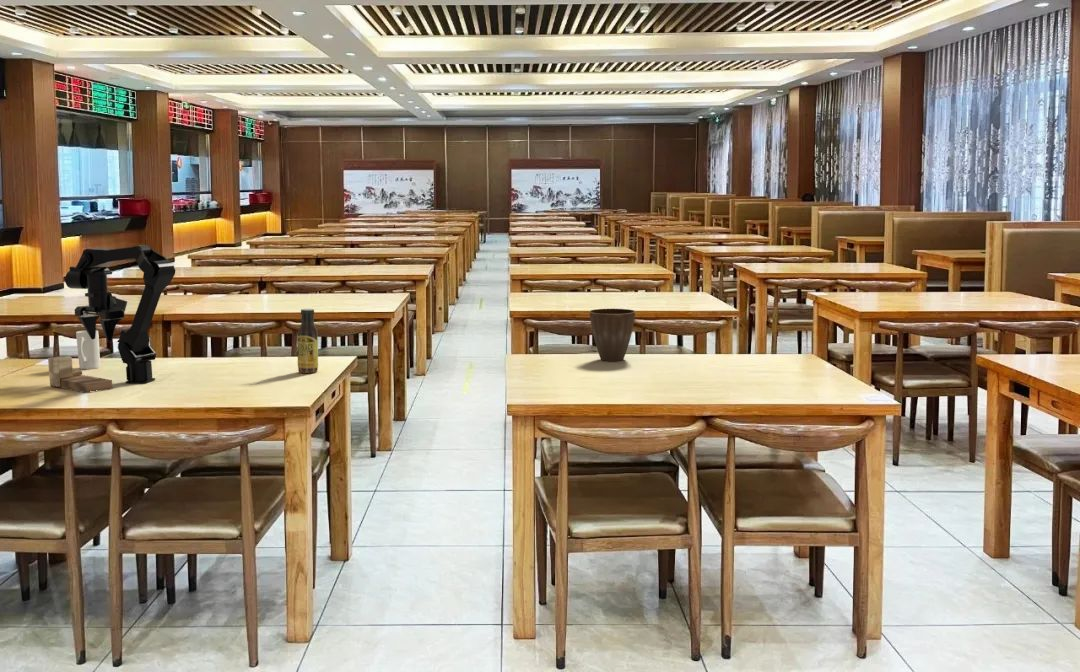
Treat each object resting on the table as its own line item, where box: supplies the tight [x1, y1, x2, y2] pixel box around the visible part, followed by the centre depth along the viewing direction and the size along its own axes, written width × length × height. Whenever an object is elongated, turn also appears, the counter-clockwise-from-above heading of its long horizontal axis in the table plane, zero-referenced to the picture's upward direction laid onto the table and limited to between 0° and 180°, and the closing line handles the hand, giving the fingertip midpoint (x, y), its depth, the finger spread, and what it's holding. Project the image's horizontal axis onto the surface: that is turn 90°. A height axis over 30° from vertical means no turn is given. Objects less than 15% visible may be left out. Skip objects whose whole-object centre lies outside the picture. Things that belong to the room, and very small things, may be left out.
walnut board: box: [56, 374, 113, 393], centre depth 320 cm, size 20×8×3 cm, turn 52°
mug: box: [75, 329, 101, 370], centre depth 353 cm, size 10×7×12 cm, turn 0°
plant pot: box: [589, 308, 636, 362], centre depth 354 cm, size 15×15×16 cm
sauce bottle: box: [297, 308, 319, 374], centre depth 339 cm, size 6×6×20 cm
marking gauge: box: [47, 355, 83, 388], centre depth 323 cm, size 4×9×8 cm, turn 142°
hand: (101, 340), depth 332 cm, fingers open, 9 cm apart
